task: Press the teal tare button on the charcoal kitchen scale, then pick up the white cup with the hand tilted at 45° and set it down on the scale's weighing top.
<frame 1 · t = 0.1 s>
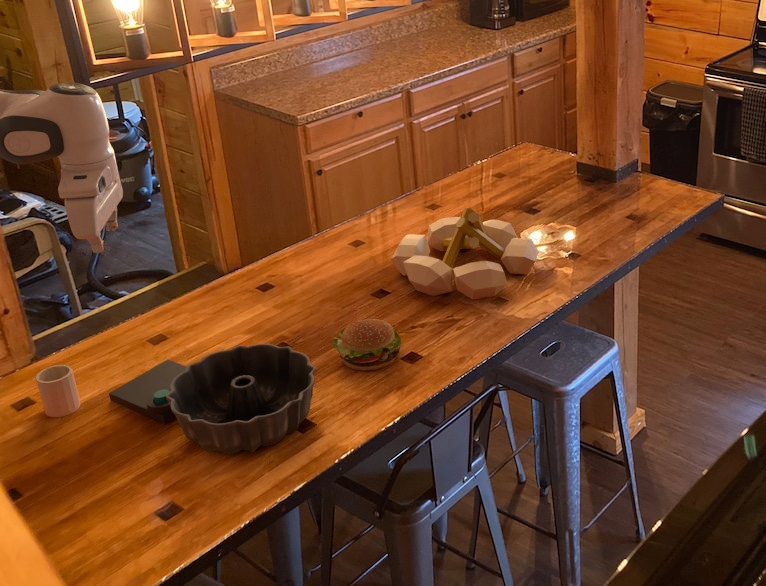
hand: (106, 240, 178), 34 cm above the table, tool pointing down, fingers open, 8 cm apart
campfire: (466, 269, 242), on the table
white cup: (63, 408, 186), on the table
scale: (167, 394, 191), on the table
food: (368, 358, 204), on the table
bundt pan: (250, 425, 182), on the table
tare button: (162, 396, 183), point 4 cm above the table, slide at 0.1 cm
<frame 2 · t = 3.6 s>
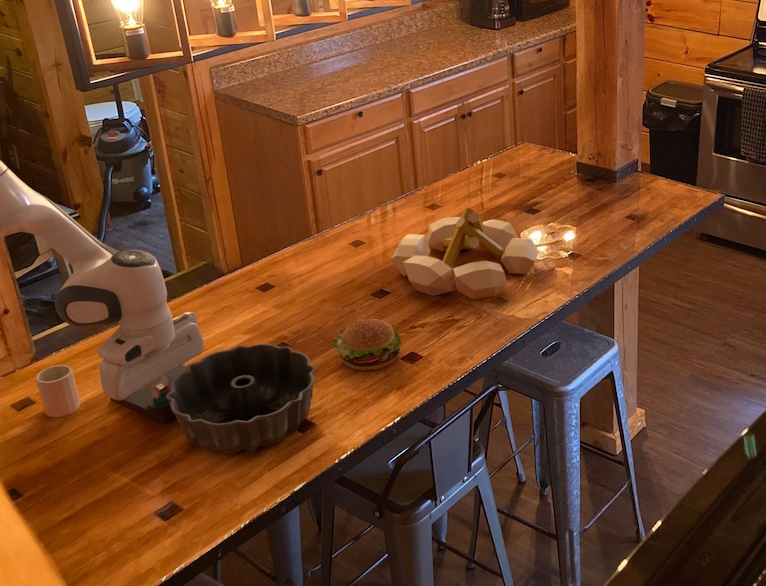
hand: (162, 394, 183), 5 cm above the table, tool pointing down, fingers closed, pressing on tare button
tare button: (162, 397, 183), point 4 cm above the table, slide at -0.1 cm, touching gripper
everything else where it was.
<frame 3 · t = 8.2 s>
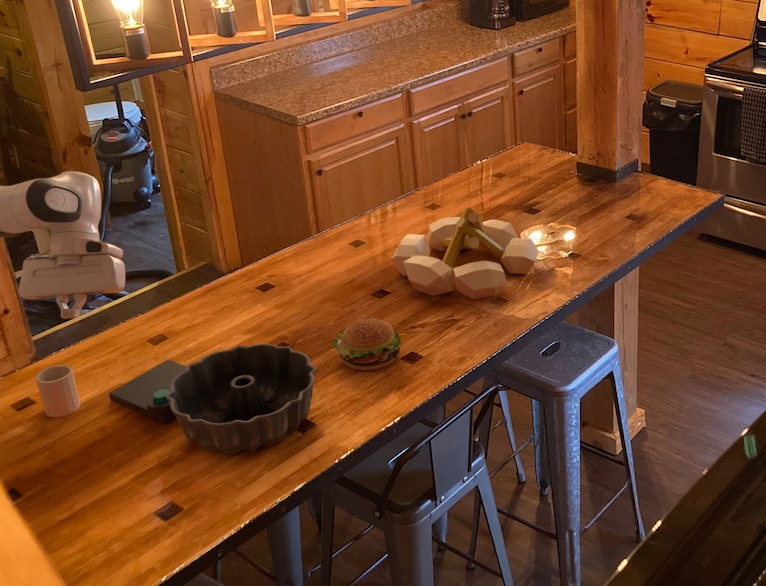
hand: (70, 317, 191), 14 cm above the table, tool tilted 40°, fingers closed
tare button: (162, 396, 183), point 4 cm above the table, slide at 0.1 cm
everything else where it was.
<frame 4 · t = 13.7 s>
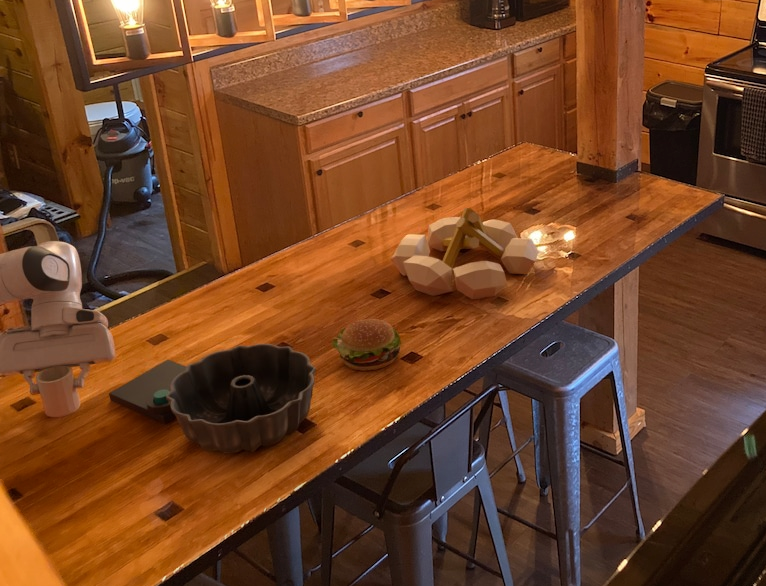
hand: (57, 390, 184), 4 cm above the table, tool tilted 45°, fingers closed on white cup, 6 cm apart
white cup: (63, 408, 186), on the table, touching gripper
everything else where it was.
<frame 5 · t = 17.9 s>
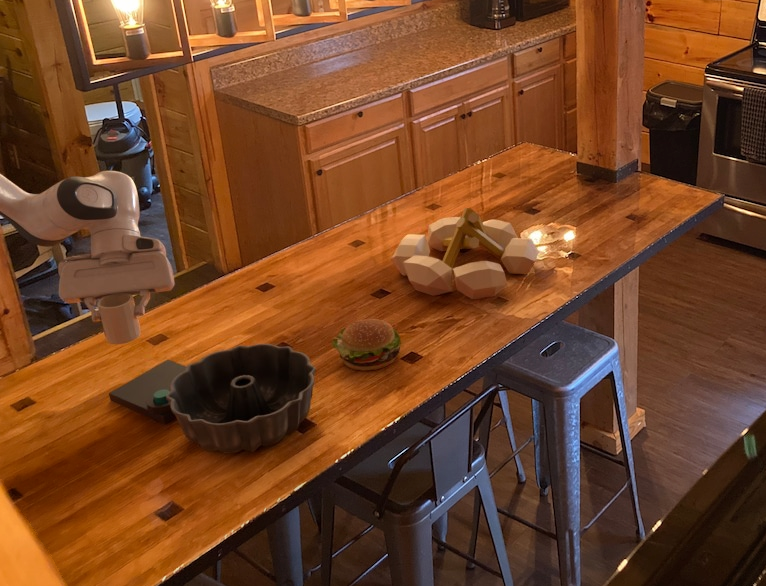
hand: (118, 317, 183), 18 cm above the table, tool tilted 45°, fingers closed on white cup, 6 cm apart
white cup: (123, 335, 186), point 13 cm above the table, touching gripper
everything else where it was.
when the fingers open (6 cm above the table, at t = 22.4 s): white cup stays where it is, resting on scale.
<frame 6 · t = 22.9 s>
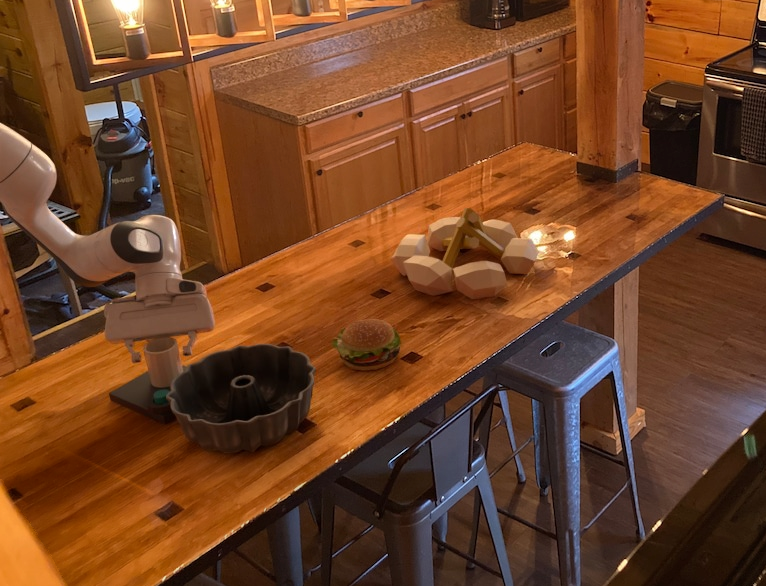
hand: (162, 358, 190), 7 cm above the table, tool tilted 45°, fingers open, 8 cm apart
white cup: (167, 378, 192), point 2 cm above the table, touching scale
everything else where it was.
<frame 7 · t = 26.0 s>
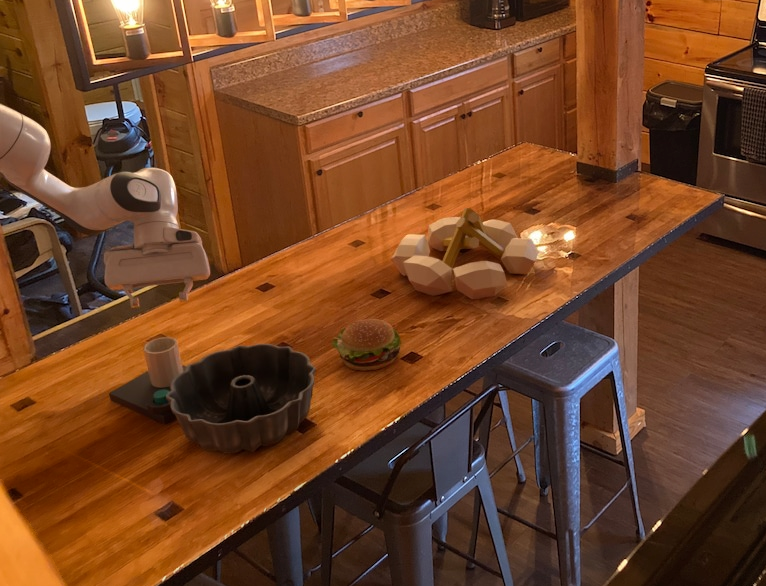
hand: (159, 303, 198), 13 cm above the table, tool tilted 45°, fingers open, 8 cm apart
nothing on the table moved.
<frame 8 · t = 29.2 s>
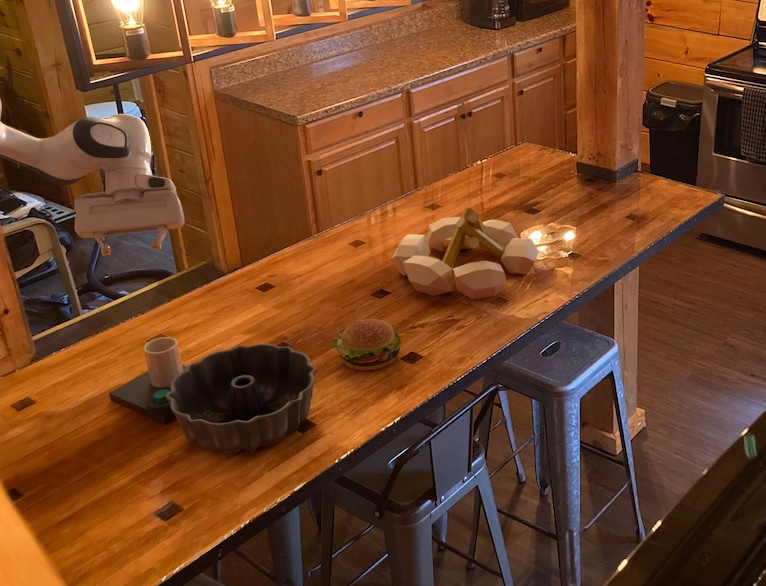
hand: (131, 252, 192), 25 cm above the table, tool tilted 45°, fingers open, 8 cm apart
nothing on the table moved.
at the end: tare button pushed in 0.8 cm at the most during the clip, back to where it started at the end; white cup inside the target area on the scale (0.0 cm from its centre), point 1.9 cm above the scale's base; white cup tilted 0° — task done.
